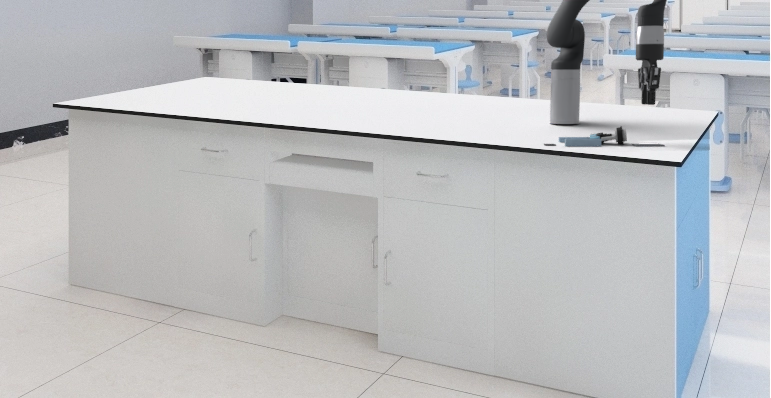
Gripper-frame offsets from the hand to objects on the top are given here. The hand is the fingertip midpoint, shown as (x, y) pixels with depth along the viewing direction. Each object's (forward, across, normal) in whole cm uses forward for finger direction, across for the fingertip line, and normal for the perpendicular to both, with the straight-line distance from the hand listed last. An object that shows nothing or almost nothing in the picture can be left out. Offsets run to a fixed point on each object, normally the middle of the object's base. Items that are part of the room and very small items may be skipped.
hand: (648, 104), depth 262 cm
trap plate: (+12, +3, +27) cm, 30 cm away
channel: (+12, +2, +19) cm, 22 cm away
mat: (+12, 0, 0) cm, 12 cm away
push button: (+10, +3, +16) cm, 19 cm away
